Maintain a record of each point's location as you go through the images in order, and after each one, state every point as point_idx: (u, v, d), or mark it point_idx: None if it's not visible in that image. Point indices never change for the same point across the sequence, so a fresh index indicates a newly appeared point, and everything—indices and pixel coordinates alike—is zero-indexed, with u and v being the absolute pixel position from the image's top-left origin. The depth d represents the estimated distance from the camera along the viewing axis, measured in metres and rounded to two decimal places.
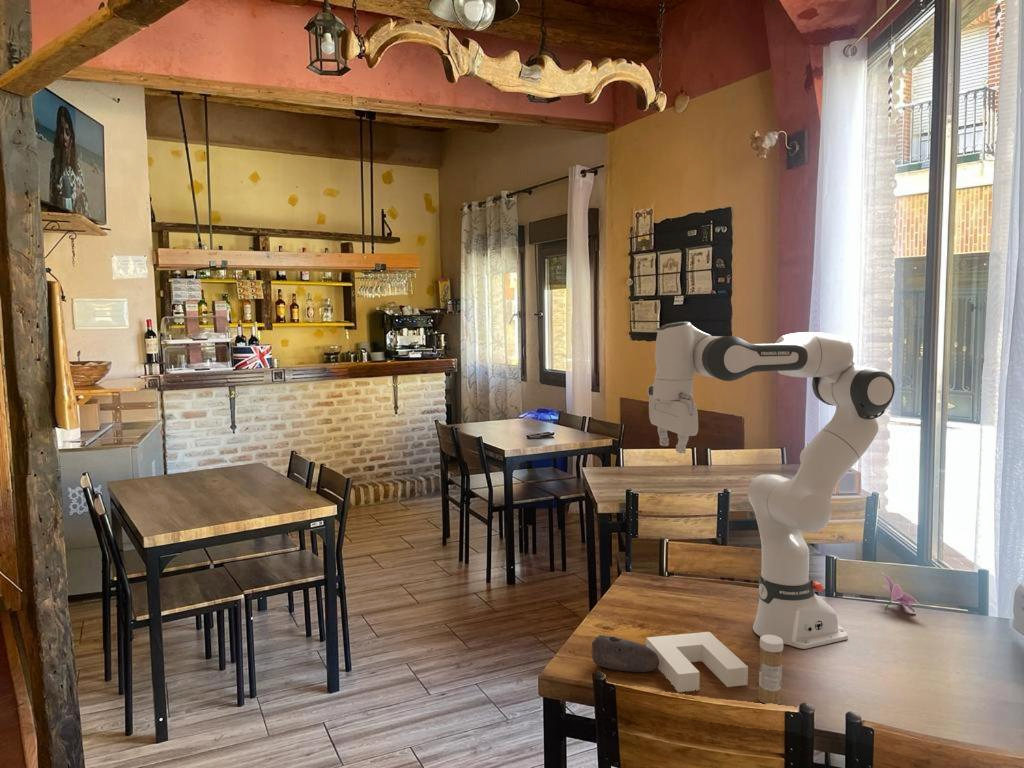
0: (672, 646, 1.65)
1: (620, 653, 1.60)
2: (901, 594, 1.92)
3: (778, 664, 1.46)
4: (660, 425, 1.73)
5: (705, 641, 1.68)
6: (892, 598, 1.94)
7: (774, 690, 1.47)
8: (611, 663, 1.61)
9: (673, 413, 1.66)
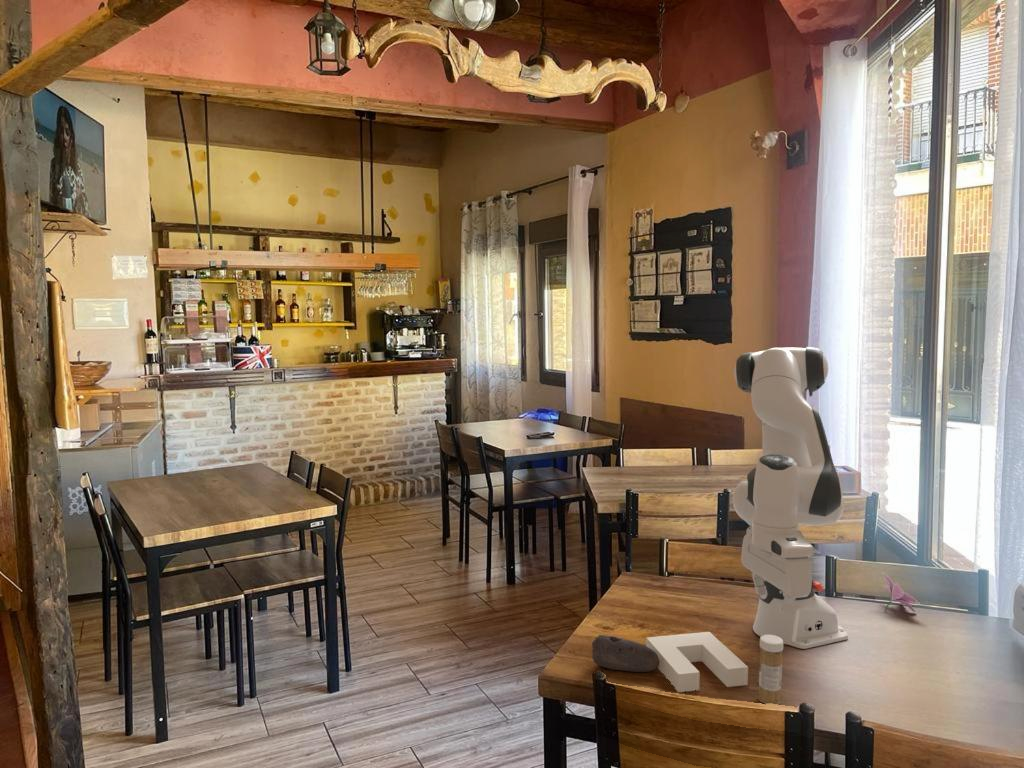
0: (672, 646, 1.65)
1: (620, 652, 1.60)
2: (901, 594, 1.92)
3: (778, 664, 1.46)
4: None
5: (705, 641, 1.68)
6: (892, 598, 1.94)
7: (774, 690, 1.47)
8: (611, 663, 1.61)
9: None
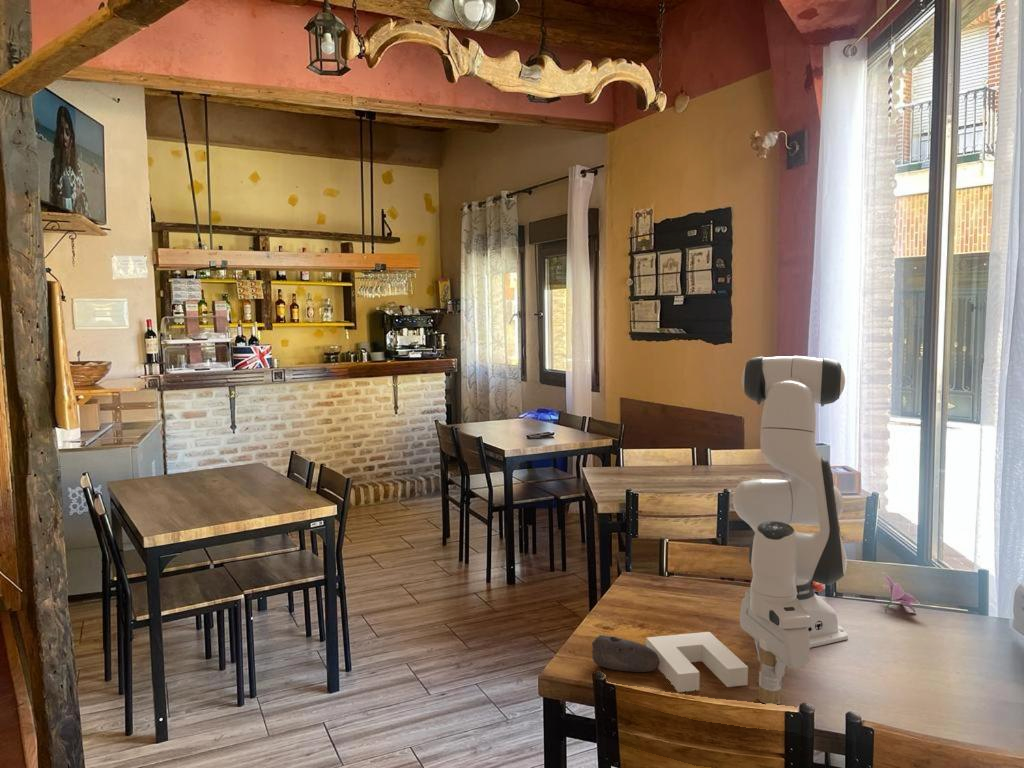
0: (672, 646, 1.65)
1: (620, 653, 1.60)
2: (902, 594, 1.92)
3: None
4: None
5: (705, 641, 1.68)
6: (893, 598, 1.94)
7: (774, 690, 1.47)
8: (611, 663, 1.61)
9: None
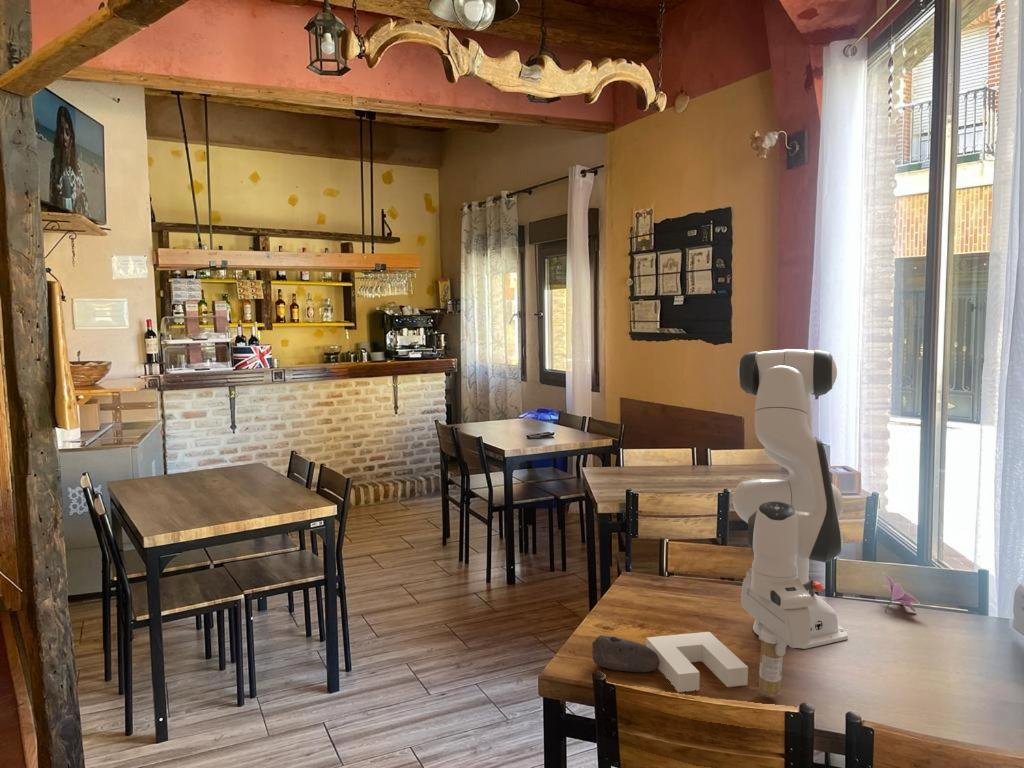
0: (672, 646, 1.65)
1: (620, 653, 1.60)
2: (902, 593, 1.92)
3: None
4: None
5: (705, 641, 1.68)
6: (893, 597, 1.95)
7: (774, 681, 1.47)
8: (611, 663, 1.61)
9: None
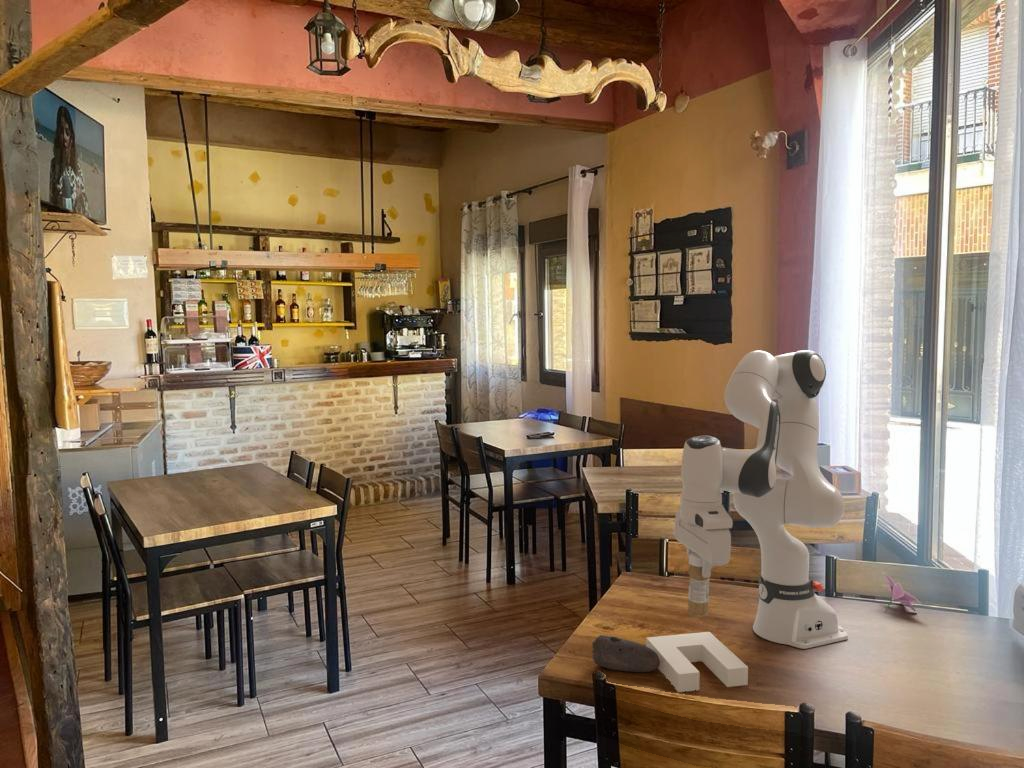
0: (672, 646, 1.65)
1: (620, 653, 1.60)
2: (902, 593, 1.93)
3: (705, 578, 1.58)
4: None
5: (705, 641, 1.68)
6: (893, 597, 1.95)
7: (701, 602, 1.58)
8: (612, 663, 1.61)
9: None
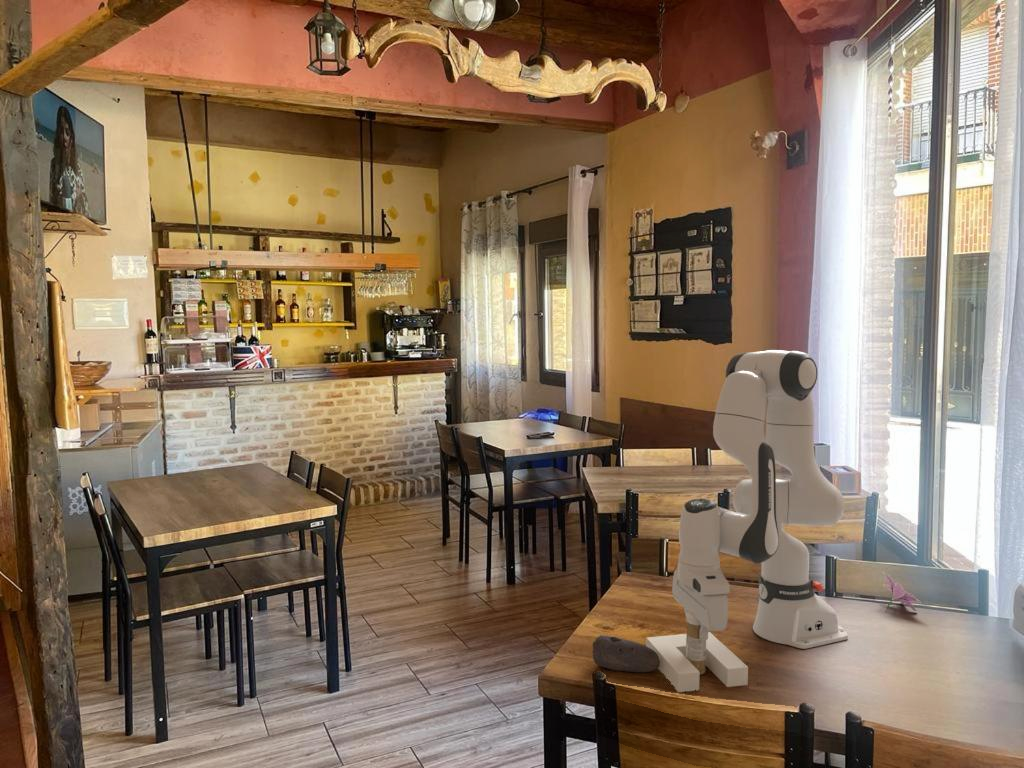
0: (672, 646, 1.65)
1: (621, 653, 1.60)
2: (902, 593, 1.93)
3: None
4: None
5: None
6: (893, 597, 1.95)
7: (698, 660, 1.59)
8: (612, 663, 1.61)
9: None
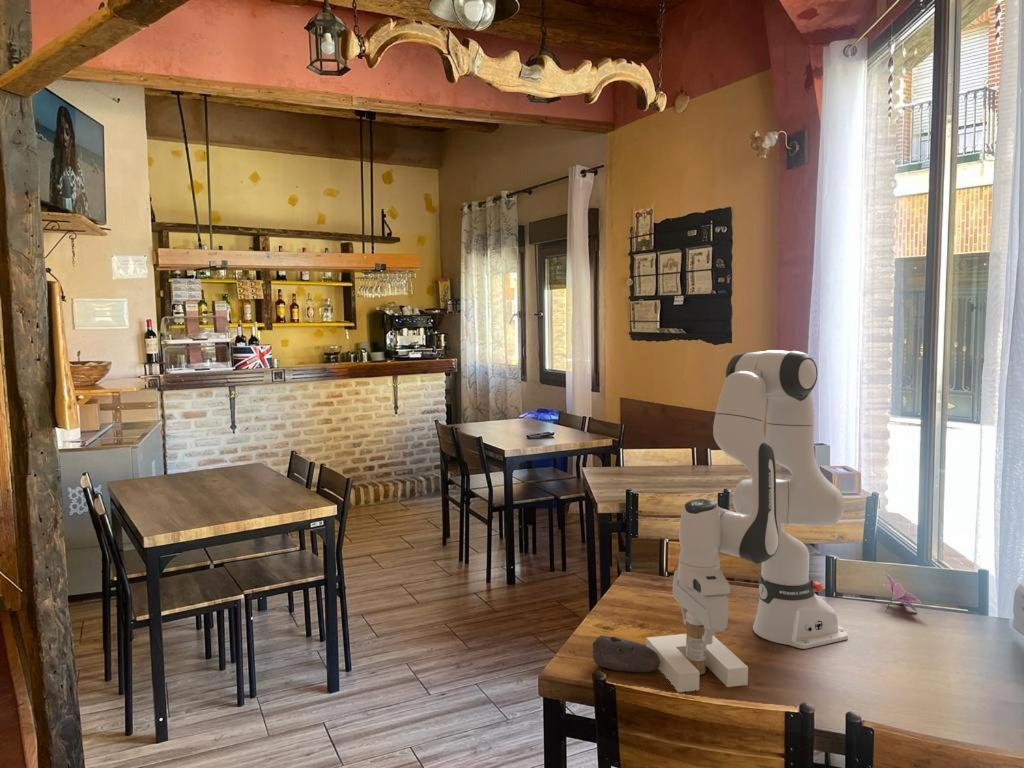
0: (672, 646, 1.65)
1: (621, 653, 1.60)
2: (903, 593, 1.93)
3: None
4: None
5: None
6: (893, 597, 1.95)
7: (698, 660, 1.59)
8: (612, 663, 1.61)
9: None
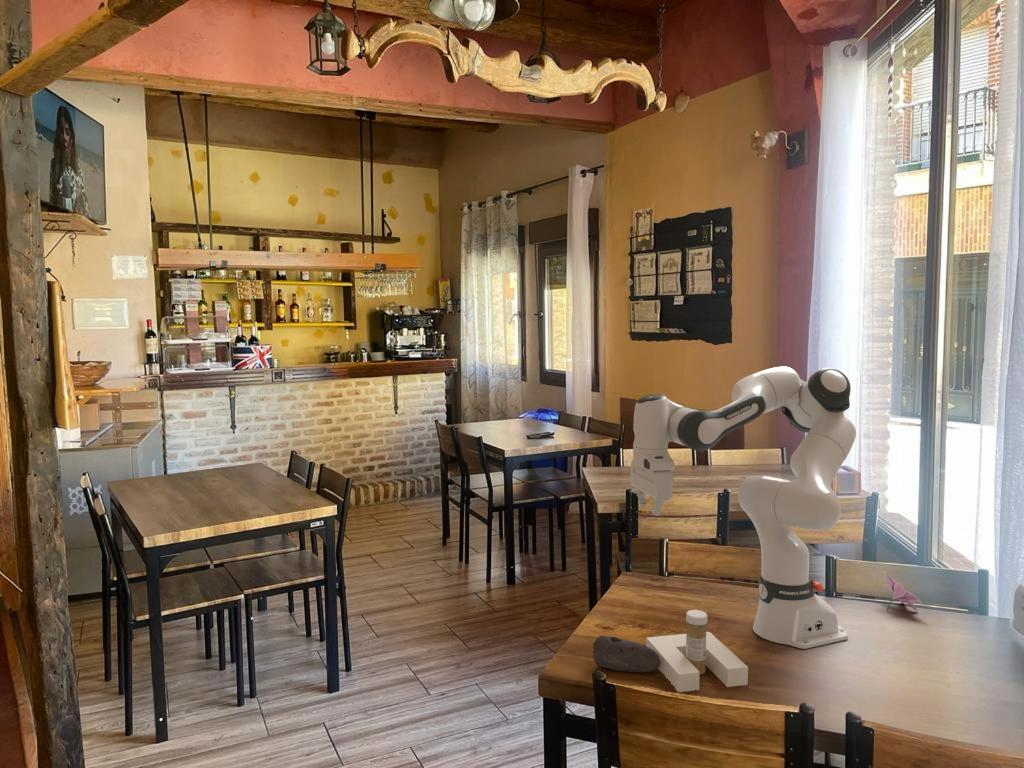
0: (672, 646, 1.65)
1: (621, 653, 1.60)
2: (903, 592, 1.93)
3: (702, 636, 1.59)
4: None
5: None
6: (894, 597, 1.95)
7: (698, 660, 1.59)
8: (612, 663, 1.61)
9: None
